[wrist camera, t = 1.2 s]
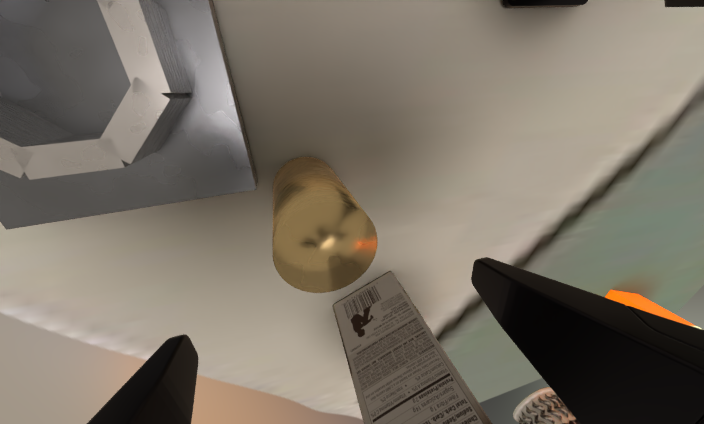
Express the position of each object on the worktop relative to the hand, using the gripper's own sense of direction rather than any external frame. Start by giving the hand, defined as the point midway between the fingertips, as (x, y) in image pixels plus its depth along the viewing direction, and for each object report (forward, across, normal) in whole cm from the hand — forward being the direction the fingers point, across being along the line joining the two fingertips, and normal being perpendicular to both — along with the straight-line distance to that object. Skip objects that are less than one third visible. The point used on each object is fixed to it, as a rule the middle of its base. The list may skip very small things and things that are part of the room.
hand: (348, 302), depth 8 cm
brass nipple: (+11, 0, 0) cm, 11 cm away
